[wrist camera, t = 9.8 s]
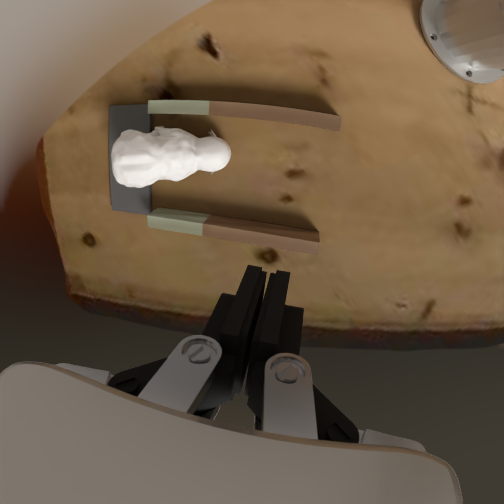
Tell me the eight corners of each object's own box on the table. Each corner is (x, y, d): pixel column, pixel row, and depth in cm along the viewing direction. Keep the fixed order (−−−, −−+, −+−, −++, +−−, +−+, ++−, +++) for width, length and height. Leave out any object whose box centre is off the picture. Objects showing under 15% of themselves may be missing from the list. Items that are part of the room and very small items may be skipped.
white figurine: (100, 134, 25) (221, 127, 25) (136, 126, 33) (235, 122, 32) (106, 196, 28) (221, 197, 27) (139, 175, 36) (234, 176, 35)
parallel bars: (160, 100, 31) (148, 100, 29) (338, 115, 29) (341, 116, 26) (158, 218, 38) (148, 227, 36) (316, 243, 36) (316, 255, 33)
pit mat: (112, 105, 32) (109, 106, 32) (152, 104, 32) (150, 104, 31) (114, 208, 39) (112, 209, 38) (151, 213, 38) (149, 215, 38)
